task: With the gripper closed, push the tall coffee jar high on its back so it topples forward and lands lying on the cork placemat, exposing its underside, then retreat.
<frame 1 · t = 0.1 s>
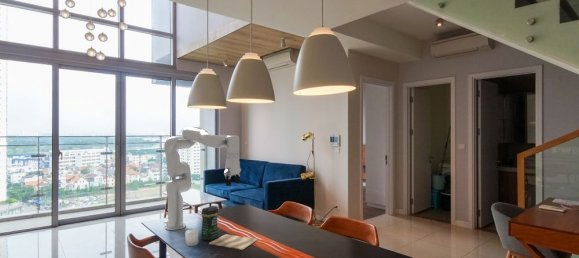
hand: (232, 184, 185), 31 cm above the table, fingers open, 9 cm apart
white rounded block: (191, 243, 173), on the table
coffee jar: (210, 238, 182), on the table
cork placemat: (233, 242, 175), on the table
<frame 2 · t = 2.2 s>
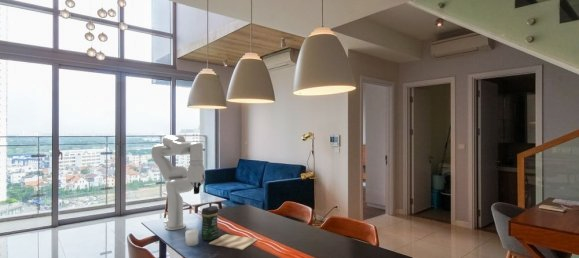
hand: (196, 193, 186), 26 cm above the table, fingers closed
nothing on the table moved.
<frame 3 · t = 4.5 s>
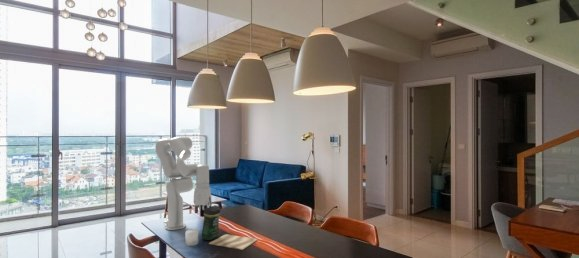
hand: (203, 216, 184), 13 cm above the table, fingers closed
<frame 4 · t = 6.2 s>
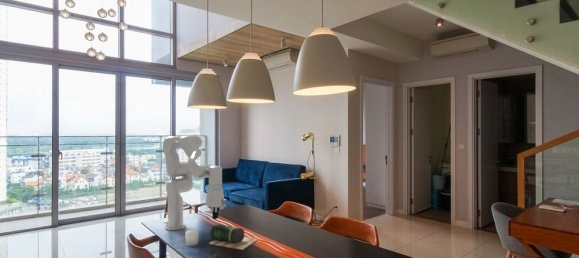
hand: (215, 218, 180), 12 cm above the table, fingers closed
coffee jar: (215, 231, 181), point 4 cm above the table, touching cork placemat
everything else where it was.
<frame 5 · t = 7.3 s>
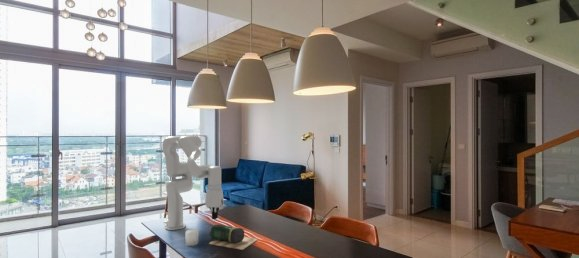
hand: (214, 218, 181), 12 cm above the table, fingers closed
nothing on the table moved.
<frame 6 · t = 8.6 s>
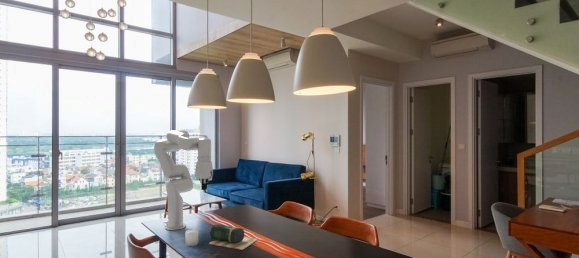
hand: (204, 189, 184), 28 cm above the table, fingers closed
nothing on the table moved.
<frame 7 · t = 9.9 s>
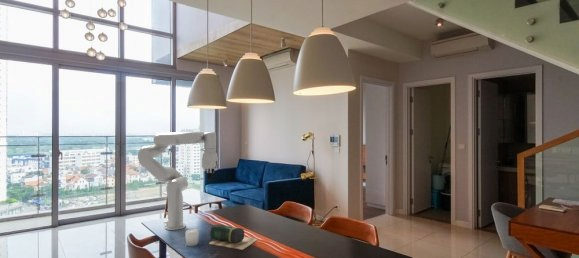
hand: (210, 178, 201), 32 cm above the table, fingers closed
nothing on the table moved.
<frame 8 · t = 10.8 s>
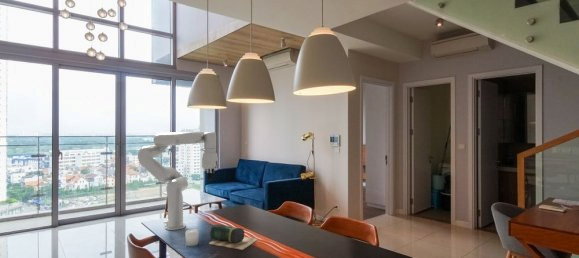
hand: (210, 178, 201), 32 cm above the table, fingers closed
nothing on the table moved.
at the end: coffee jar tilted 90°; coffee jar inside the target area (10.5 cm from its centre), point 4.5 cm above the table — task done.
